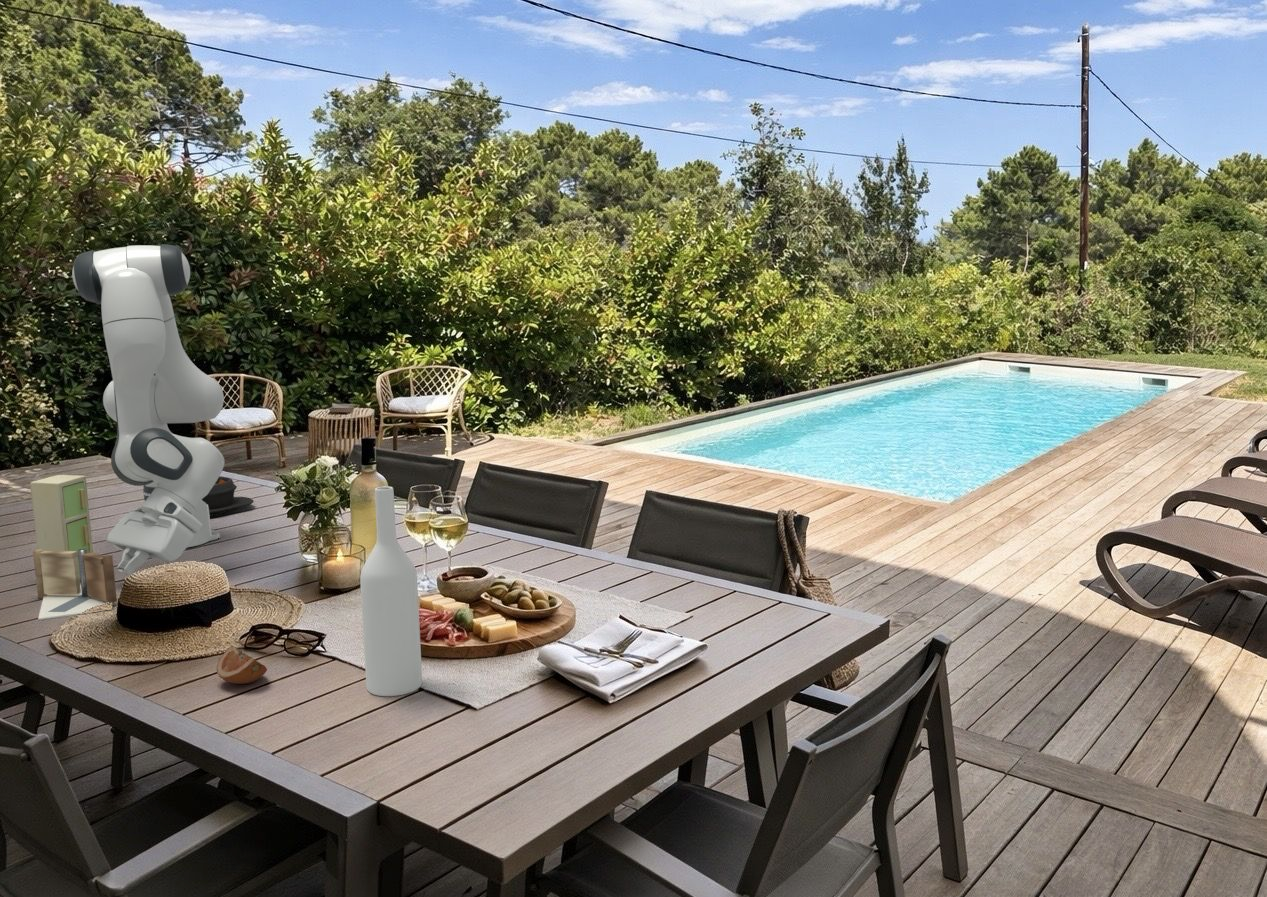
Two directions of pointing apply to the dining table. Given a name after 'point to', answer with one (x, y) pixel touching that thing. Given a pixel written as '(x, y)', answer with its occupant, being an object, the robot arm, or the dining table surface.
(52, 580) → the fence fixed section
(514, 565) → the dining table surface
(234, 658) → the fruit slice
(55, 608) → the board
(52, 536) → the toy refrigerator
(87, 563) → the fence panel
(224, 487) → the casserole
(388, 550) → the bottle
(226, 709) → the dining table surface
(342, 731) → the dining table surface
